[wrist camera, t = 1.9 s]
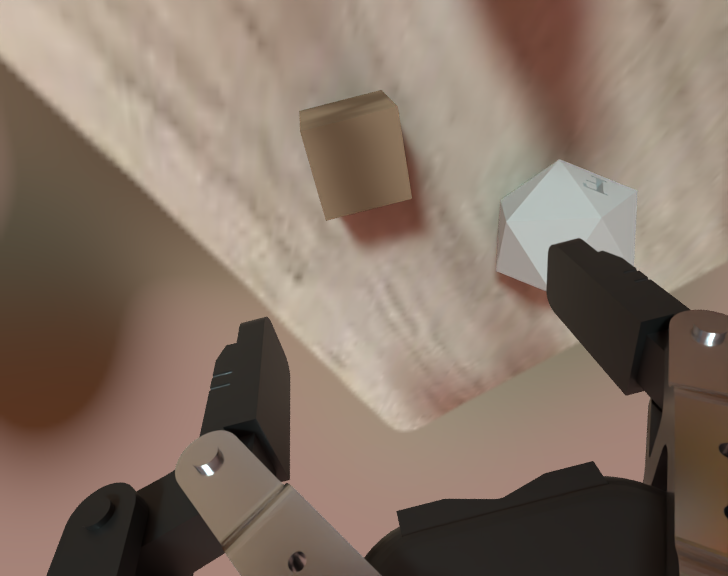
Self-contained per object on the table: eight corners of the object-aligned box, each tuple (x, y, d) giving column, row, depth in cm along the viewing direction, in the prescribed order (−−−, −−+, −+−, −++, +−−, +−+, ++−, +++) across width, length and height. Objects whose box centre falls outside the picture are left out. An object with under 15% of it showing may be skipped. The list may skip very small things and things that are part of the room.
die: (603, 213, 33) (700, 173, 23) (562, 317, 33) (644, 320, 23) (504, 173, 33) (559, 117, 24) (462, 276, 33) (501, 261, 23)
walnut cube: (381, 89, 26) (397, 106, 21) (394, 170, 28) (412, 198, 24) (299, 110, 26) (300, 131, 21) (321, 189, 28) (326, 220, 24)
